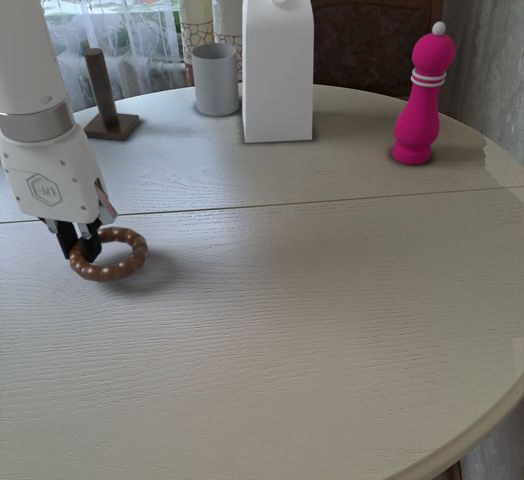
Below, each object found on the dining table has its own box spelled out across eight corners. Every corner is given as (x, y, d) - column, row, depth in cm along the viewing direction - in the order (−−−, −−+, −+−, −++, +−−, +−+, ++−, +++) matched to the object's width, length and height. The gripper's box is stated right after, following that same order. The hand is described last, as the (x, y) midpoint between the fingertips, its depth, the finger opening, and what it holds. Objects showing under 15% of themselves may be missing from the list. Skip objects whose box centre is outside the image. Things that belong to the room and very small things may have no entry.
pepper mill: (380, 156, 86) (404, 22, 71) (405, 141, 89) (432, 10, 74) (416, 171, 82) (449, 34, 67) (440, 155, 86) (476, 21, 70)
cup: (191, 113, 98) (184, 57, 90) (204, 95, 103) (199, 41, 95) (233, 117, 96) (229, 61, 89) (244, 99, 101) (241, 44, 94)
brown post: (83, 136, 92) (59, 58, 82) (101, 117, 97) (82, 41, 87) (123, 141, 91) (104, 62, 81) (140, 121, 96) (124, 44, 86)
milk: (303, 110, 97) (311, -59, 78) (311, 139, 90) (323, -40, 70) (242, 114, 97) (234, -56, 77) (245, 142, 90) (237, -37, 70)
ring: (58, 278, 63) (53, 266, 62) (92, 231, 70) (88, 219, 68) (131, 290, 62) (128, 278, 60) (160, 241, 68) (157, 229, 67)
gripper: (-55, 125, 51) (14, 264, 65) (90, 142, 49) (129, 283, 63) (-13, 94, 56) (43, 230, 70) (121, 108, 53) (151, 246, 68)
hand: (84, 254), depth 66 cm, fingers closed on ring, 2 cm apart
